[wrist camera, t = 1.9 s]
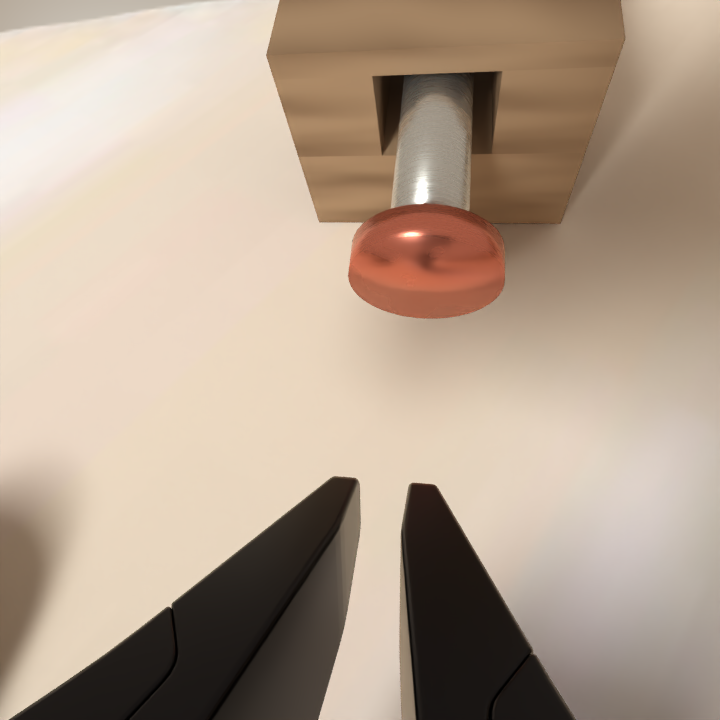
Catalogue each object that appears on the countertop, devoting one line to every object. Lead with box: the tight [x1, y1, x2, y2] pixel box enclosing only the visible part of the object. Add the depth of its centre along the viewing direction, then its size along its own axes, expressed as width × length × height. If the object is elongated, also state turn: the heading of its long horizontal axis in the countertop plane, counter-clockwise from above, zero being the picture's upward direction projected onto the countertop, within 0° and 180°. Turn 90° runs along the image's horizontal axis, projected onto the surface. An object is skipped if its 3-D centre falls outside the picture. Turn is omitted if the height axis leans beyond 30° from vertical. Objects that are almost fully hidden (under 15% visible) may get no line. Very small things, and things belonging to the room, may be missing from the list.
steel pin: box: [348, 72, 505, 318], centre depth 21 cm, size 16×5×5 cm, turn 174°
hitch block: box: [266, 0, 625, 224], centre depth 24 cm, size 8×12×10 cm, turn 84°
